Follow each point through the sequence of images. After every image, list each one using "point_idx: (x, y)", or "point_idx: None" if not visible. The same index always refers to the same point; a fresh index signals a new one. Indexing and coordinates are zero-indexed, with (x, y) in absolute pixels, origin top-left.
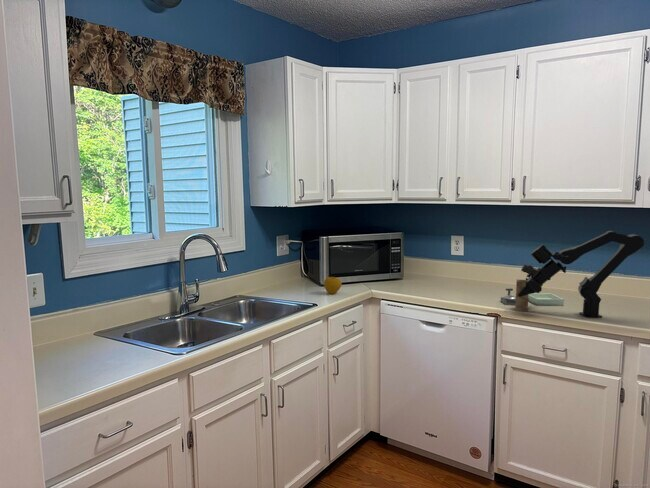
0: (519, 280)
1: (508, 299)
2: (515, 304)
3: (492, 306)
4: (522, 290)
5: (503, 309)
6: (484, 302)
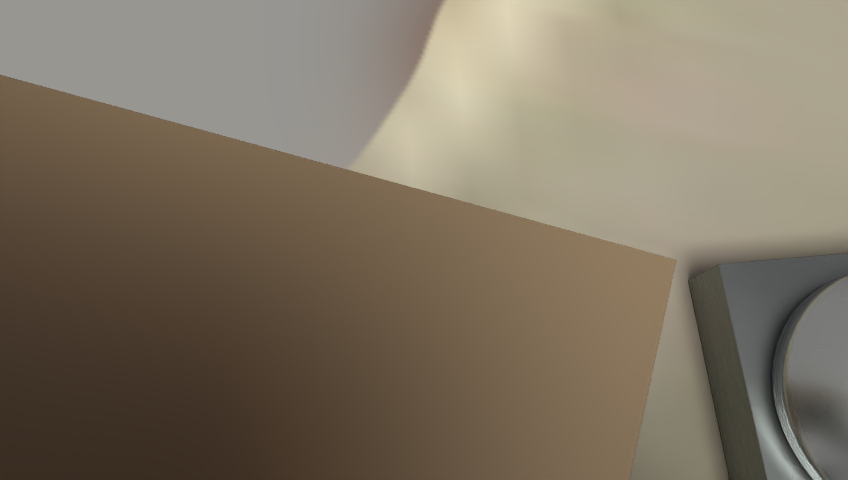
0: (215, 336)
1: (795, 316)
2: (725, 438)
3: (563, 70)
4: None
5: (404, 171)
6: (796, 15)
